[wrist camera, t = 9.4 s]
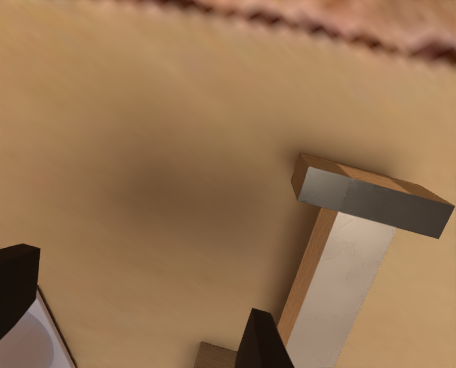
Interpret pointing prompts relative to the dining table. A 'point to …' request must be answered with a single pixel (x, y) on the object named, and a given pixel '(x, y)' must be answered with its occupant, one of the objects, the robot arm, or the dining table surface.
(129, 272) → the dining table surface
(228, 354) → the bearing block
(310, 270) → the shaft
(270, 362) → the robot arm
